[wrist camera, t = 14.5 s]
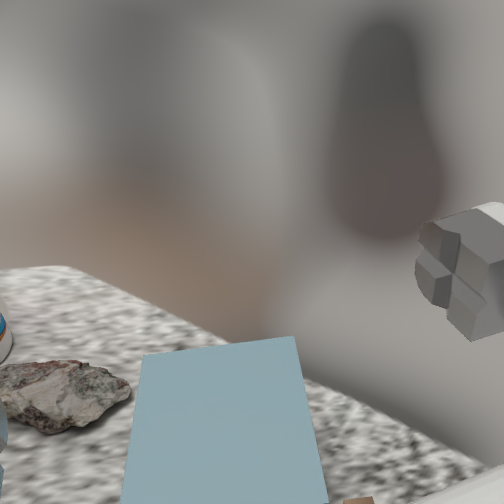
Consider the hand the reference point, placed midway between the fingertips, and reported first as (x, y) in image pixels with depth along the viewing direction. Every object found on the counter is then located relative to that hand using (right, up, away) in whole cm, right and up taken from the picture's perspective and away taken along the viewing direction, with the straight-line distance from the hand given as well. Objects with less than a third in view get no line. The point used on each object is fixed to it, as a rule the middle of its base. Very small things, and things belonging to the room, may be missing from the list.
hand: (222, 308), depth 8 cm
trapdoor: (-1, -13, +22) cm, 26 cm away
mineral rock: (-19, -15, +39) cm, 46 cm away
